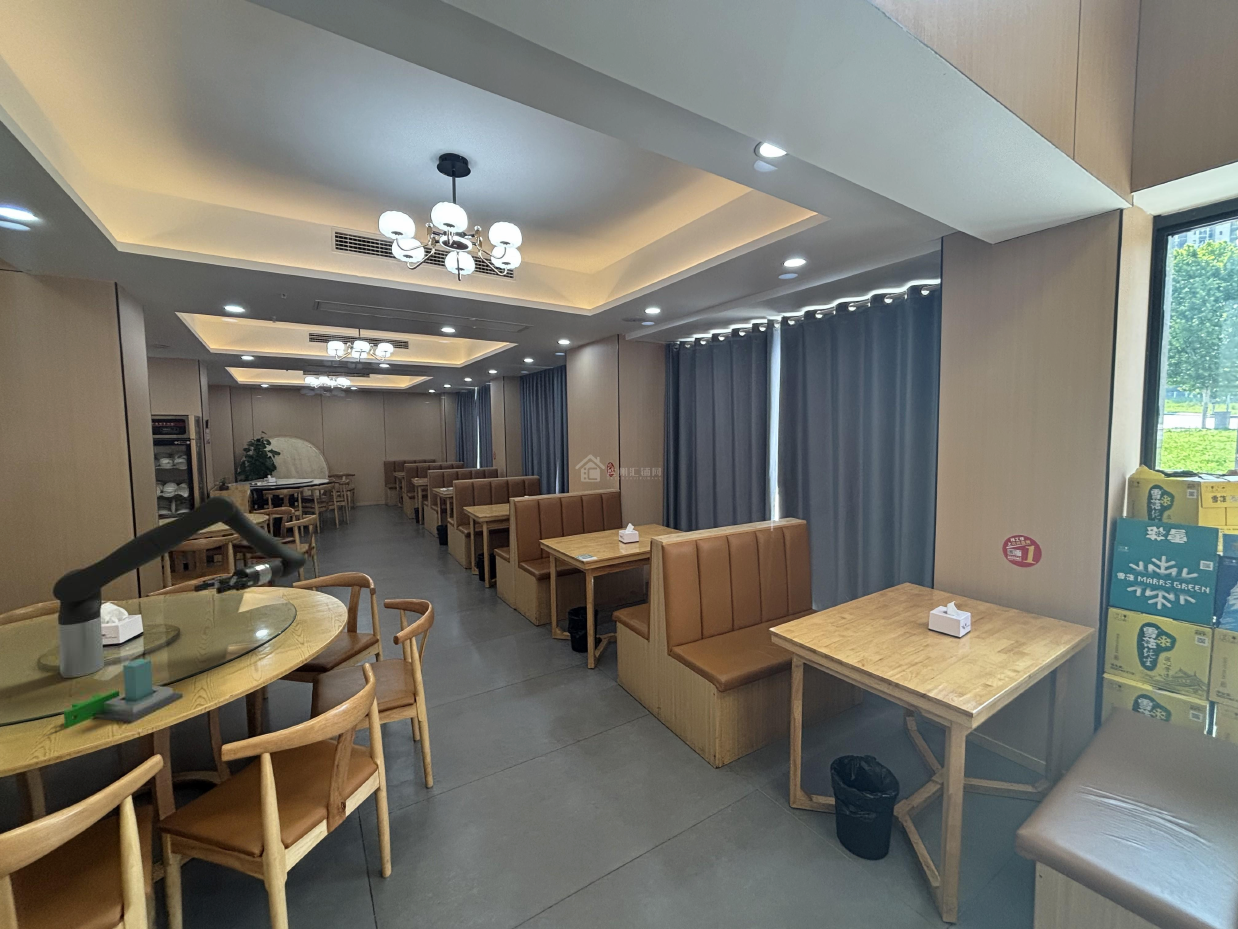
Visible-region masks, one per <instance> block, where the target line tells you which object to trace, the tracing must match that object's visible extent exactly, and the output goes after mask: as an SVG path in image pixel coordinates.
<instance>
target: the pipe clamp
mask: <svg viewBox="0 0 1238 929" xmlns="http://www.w3.org/2000/svg"><path fill="white" fill-rule="evenodd" d="M92 696H93V697H92V698H90V699H89V700H85V701H83V702H74V703H72V704H71V708H69V709H67V710H65V711H63V717H64V719H63V720H64V727H65V729H69V728H71V727H73V726H75V725H78V724H80V723H83V722H85V721H88V720H89V719H92V718H93V714H94V713H97V712H99V711H101V710H103V709H104V702H107V701H109V700H111V699H113V698H116V697H118V696H120V690H117V689H116V690H114V691H111V692H109V693H106V694H104V695H102V694H94V695H92Z"/></svg>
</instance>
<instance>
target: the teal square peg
mask: <svg viewBox="0 0 1238 929" xmlns="http://www.w3.org/2000/svg"><path fill="white" fill-rule="evenodd" d="M152 671H153V670H152V660H151V659H145V658H138V659H136V660H133V661H131V662H127V663H125V664H123V681H124V682H123V683H124V684H123V685H124V694H125V701H132V702H137V701H139V700H141V699H143V698H145V697H147V696H149V695H151V694H153V689H152V685H153V677H152V676H153V673H152Z"/></svg>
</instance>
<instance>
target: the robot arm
mask: <svg viewBox="0 0 1238 929" xmlns="http://www.w3.org/2000/svg"><path fill="white" fill-rule="evenodd" d="M219 523H221V524H223V525H224V526H227V527H228V528H230V529H231V530H232V531H234V532H235V533H236V534H237V535H238V536H240V537H241V538H242V539H243V540H244V541H245V543H247V544H248V545H249V546H250V547H251V548H253V549H254V550H255V551H256V552H257V553H259V554H260V555H261V556H263V557H264V558H265V559H267V561H264V562H261V563H260V562H259V563H255V564H252V565H247V566H245V567H244V566H243V567H241V568H237V569H236V570H234V571H233V572H232V574H230V575H226V576H224V577H223V576H222V575H219V576H215V577H211V578H207V579H204V580H202V583H199V584H196V585H194V587H193V588H194V592H195V593H200V592H202V591H205V590H210V589H215V592H216V595H220V594H224V593H227V592H234V591H236V592H240V591H245V590H247V589H250V588H254V587H256V586H257V587H258V586H261V585H262V584H265V583H267V582H270V581H273V580H276V579H285V578H287V577H290V576H292V575H294V574H296V572H298V571H299V570H301V569H302V568H303V567H305V566H306V564H307V559H306V557H305V555H304V554H303V552H301V551H299V550H298V549H295V548H292V547H290V546H288V545H285V544H283V543H282V542H281V541H279V540H278V539H276V538H275V537H274V536H273V535H272V534H270V533H269V532H268V531H266V530H265V529H264V528H262V526H259V525H258V524H257V523H256V522H254V521H253V520H252V519H251V518H249V517H248V516H247V515H246V514H245V513H244V512H243V511H242V510H241V509H240V508H239V506H238V505H237V504H236V503H235V501H234V500H233V499H232V498H231V497H229V496H226V495H216V496H212V497H210V498H207V499H206V500H205V501H204V502H203V503H201V504H200V505H198V506H197V507H195V508H194V509H192V510H190V511H189V512H187V513H185V514H183V515H182V516H180V517H177V518H175V519H173V520H171V521H167V522H164V523H162V524H160V525H157V526H156V527H154V528H151V529H150V530H147V531H145V532H144V533H142V534H140V535H138V536H137V537H135V538H132V539H130V540H129V541H128V542H126V543H124V544H123V545H121V546H120V547H118V548H117V549H116V550H114V551H112V552H111V553H109V555H106V557H104V558H103V559H100V560H99V561H97V562H94V563H93V564H91V565H89V566H86V567H84V568H78V569H77V568H76V569H72V570H71V571H69V572H67V573H65V574H64V575H62V576H61V577H60V578H59V579H58V580H57V581H56V582H55V584H54V586H53V588H52V595H53V597H54V598H55V599H56V601H57V600H58V601H59V611H58V615H57V621H58V622H57V625H58V633H59V634H58V637H59V645H58V661H59V673H60V675H61V677H62V678H63V679H64V678H66V679H72V678H78V677H83V676H87V675H90V674H93V673H96V672H98V671H100V670H101V669H103V668H104V666H105V665H104V648H103V630H102V616H101V615H102V613H101V609H102V602H103V601H102V588H104V587H105V586H106V585H108V584H110V583H111V582H113V581H115V580H117V579H118V578H120V577H122V576H124V575H126V574H128V573H130V572H132V571H135V570H137V569H138V568H142V567H143V566H145V565H147V564H149V563H151V562H153V561H154V560H157V559H158V558H160V557H162V556H164V555H165V554H168V553H169V552H171V551H173V550H174V549H176V548H177V547H179V546H180V545H182V544H183V543H185V542H186V541H187V540H189V539H190V538H191V537H193V536H194V535H196V534H198V533H200V532H202V531H204V530H206V529H208V528H210V527H212V526H215V525H217V524H219ZM276 558H278V559H280V560H273V559H276Z"/></svg>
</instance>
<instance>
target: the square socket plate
mask: <svg viewBox="0 0 1238 929" xmlns="http://www.w3.org/2000/svg"><path fill="white" fill-rule="evenodd" d="M152 689H153V694H151V695H149V696H147V697H145V698H143V699H141V700H139V701H137V702H132V701H125V693H122V694H119V696H118V697H116V698H113V699H111V700H109V701H107V702H104V709H103V710H101V711H99V712H97V713H94V714H93V717H92V718H94V719H101V720H109V721H116V722H123V723H130V724H133V723H135V722H137V721H139V720H140V719H142V718H145V717H146V716H148V715H150V714H153V713H154V712H156V711H159V710H160V709H163V708H164V707H166V706H168V705H170V704H172V703H174V702H176V701H178V700H180V699H182V698H183V696H184V695H183V693H178V692H177V693H176V692H174V691H173V690H174V689H173V687H168V686H167V687H166V686H161V685H159V686H158V685H154V684H152Z"/></svg>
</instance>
